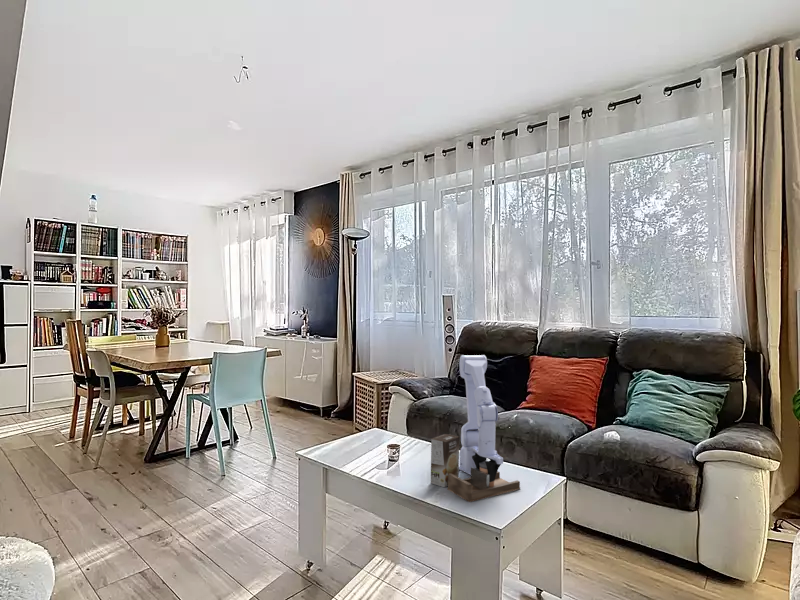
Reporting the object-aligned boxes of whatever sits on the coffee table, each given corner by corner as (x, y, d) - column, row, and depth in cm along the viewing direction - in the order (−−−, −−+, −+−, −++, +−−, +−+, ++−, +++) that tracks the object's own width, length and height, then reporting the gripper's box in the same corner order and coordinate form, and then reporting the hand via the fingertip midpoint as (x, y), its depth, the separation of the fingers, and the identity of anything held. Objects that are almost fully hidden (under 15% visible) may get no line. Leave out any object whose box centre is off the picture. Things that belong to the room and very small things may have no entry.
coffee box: (444, 488, 170) (445, 442, 170) (430, 483, 174) (430, 438, 174) (459, 480, 177) (459, 436, 177) (444, 476, 181) (445, 432, 181)
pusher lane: (447, 489, 169) (447, 473, 169) (496, 477, 180) (497, 462, 180) (469, 502, 159) (469, 485, 159) (520, 489, 170) (520, 473, 170)
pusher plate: (470, 484, 172) (470, 467, 172) (473, 483, 172) (473, 466, 172) (486, 492, 165) (486, 475, 165) (489, 492, 165) (489, 474, 165)
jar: (476, 483, 171) (476, 462, 171) (487, 481, 174) (487, 460, 174) (485, 489, 167) (486, 467, 167) (497, 486, 169) (497, 464, 169)
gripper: (510, 443, 166) (509, 483, 166) (482, 432, 178) (481, 470, 178) (494, 446, 162) (493, 487, 162) (466, 435, 175) (466, 473, 175)
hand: (486, 478), depth 170 cm, fingers closed on jar, 5 cm apart
